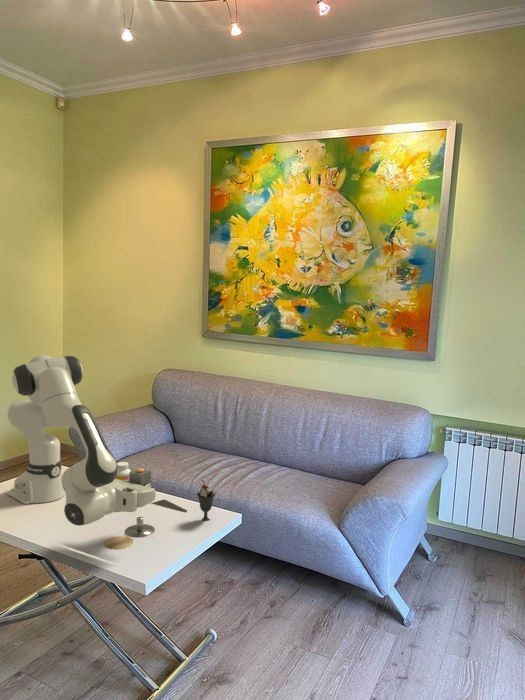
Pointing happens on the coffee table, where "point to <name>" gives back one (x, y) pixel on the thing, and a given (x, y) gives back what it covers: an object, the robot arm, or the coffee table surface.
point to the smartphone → (169, 505)
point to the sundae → (205, 500)
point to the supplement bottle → (122, 471)
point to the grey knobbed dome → (139, 529)
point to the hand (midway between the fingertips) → (141, 483)
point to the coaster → (119, 542)
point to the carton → (140, 476)
